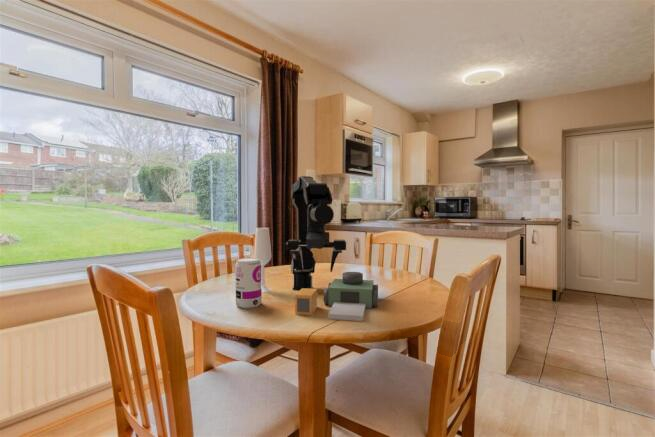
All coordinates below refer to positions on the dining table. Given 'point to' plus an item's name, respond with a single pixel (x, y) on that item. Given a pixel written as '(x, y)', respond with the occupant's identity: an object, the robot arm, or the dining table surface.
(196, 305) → the dining table surface
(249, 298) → the supplement can
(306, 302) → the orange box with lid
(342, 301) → the green wheeled block
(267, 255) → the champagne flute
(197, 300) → the dining table surface
